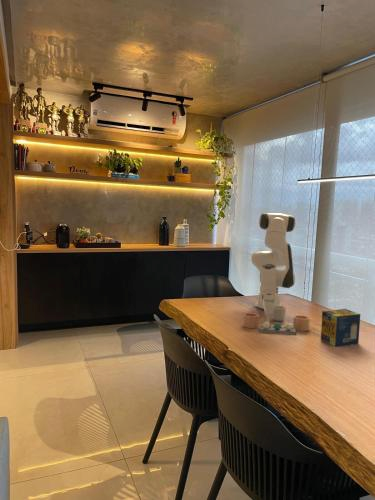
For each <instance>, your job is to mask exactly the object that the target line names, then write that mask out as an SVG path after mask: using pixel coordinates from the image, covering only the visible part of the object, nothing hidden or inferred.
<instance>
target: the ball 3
mask: <svg viewBox="0 0 375 500" xmlns="http://www.w3.org/2000/svg"><path fill="white" fill-rule="evenodd" d="M284 327H285V328H286V329H287V330H291V329H292V327H293V324H292V323H290V322H286V323H285V324H284Z"/></svg>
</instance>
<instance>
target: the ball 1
mask: <svg viewBox="0 0 375 500" xmlns="http://www.w3.org/2000/svg"><path fill="white" fill-rule="evenodd" d="M262 326H263V328H265V329H268V328H269V327H270V326H271V324H270V322H267V321H264V322H263V323H262Z"/></svg>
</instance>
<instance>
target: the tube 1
mask: <svg viewBox="0 0 375 500" xmlns="http://www.w3.org/2000/svg"><path fill="white" fill-rule="evenodd" d="M259 323H260V314H258V313H255V312H245V313H243V324H242V325H243V326H242V327H244V328H247V329H257V328H258V329H259V326H260V325H259Z"/></svg>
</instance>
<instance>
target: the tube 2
mask: <svg viewBox="0 0 375 500" xmlns="http://www.w3.org/2000/svg"><path fill="white" fill-rule="evenodd" d="M292 321H293V322H292V323H293V324H292V327H294V328H295V330H296V331H300V332H308V331H310V323H311V322H310V321H311V317H309V316H307V315H302V314H297V315H293V320H292Z"/></svg>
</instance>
